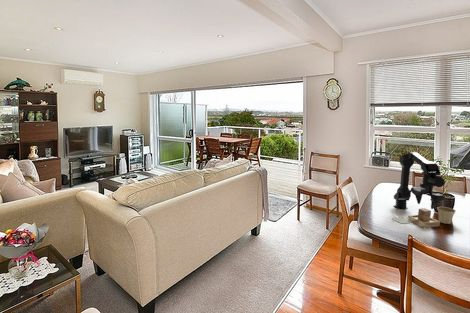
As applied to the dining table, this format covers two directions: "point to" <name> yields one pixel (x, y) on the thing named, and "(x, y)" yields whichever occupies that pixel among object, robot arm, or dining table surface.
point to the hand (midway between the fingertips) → (425, 206)
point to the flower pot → (445, 214)
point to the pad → (402, 220)
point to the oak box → (424, 224)
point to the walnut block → (424, 214)
